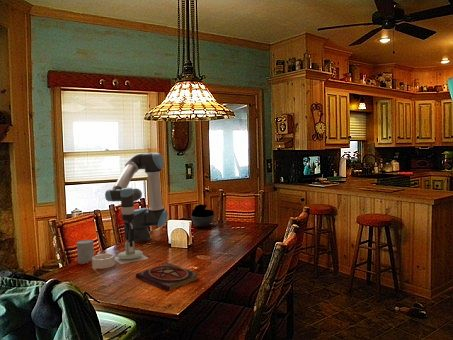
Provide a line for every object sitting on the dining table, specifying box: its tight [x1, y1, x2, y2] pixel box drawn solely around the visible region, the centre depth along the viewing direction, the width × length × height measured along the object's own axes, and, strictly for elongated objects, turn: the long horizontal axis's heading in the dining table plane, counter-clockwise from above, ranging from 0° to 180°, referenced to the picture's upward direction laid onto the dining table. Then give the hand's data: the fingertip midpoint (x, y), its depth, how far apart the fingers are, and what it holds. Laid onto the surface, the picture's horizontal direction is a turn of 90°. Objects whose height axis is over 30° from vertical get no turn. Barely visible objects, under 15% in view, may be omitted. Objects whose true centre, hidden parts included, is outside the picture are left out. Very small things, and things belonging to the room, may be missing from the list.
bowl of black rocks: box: [190, 204, 216, 228], centre depth 313 cm, size 20×20×19 cm
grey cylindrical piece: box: [76, 239, 95, 265], centre depth 226 cm, size 10×10×12 cm
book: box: [135, 262, 201, 292], centre depth 191 cm, size 28×21×5 cm
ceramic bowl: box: [91, 253, 116, 271], centre depth 214 cm, size 12×12×6 cm
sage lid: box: [117, 241, 144, 259], centre depth 226 cm, size 15×15×8 cm
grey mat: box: [115, 254, 149, 265], centre depth 227 cm, size 17×17×1 cm
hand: (130, 251), depth 227 cm, fingers closed on sage lid, 3 cm apart
